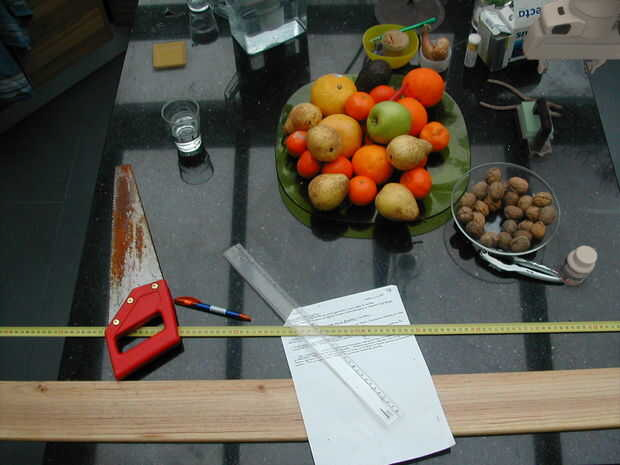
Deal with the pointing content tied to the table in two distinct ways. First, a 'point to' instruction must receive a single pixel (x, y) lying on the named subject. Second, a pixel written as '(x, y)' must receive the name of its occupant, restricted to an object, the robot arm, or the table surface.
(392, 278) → the table surface
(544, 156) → the iron
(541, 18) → the robot arm
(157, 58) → the yellow kitchen sponge
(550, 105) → the pliers
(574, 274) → the pill bottle
